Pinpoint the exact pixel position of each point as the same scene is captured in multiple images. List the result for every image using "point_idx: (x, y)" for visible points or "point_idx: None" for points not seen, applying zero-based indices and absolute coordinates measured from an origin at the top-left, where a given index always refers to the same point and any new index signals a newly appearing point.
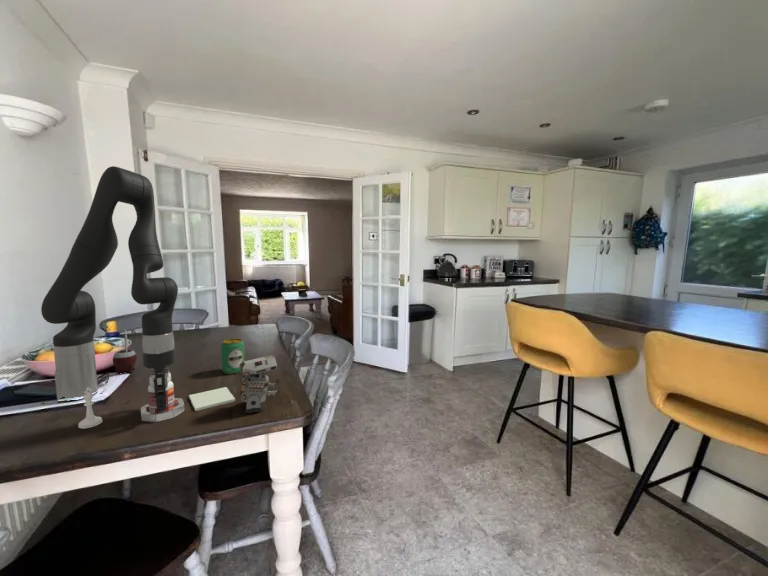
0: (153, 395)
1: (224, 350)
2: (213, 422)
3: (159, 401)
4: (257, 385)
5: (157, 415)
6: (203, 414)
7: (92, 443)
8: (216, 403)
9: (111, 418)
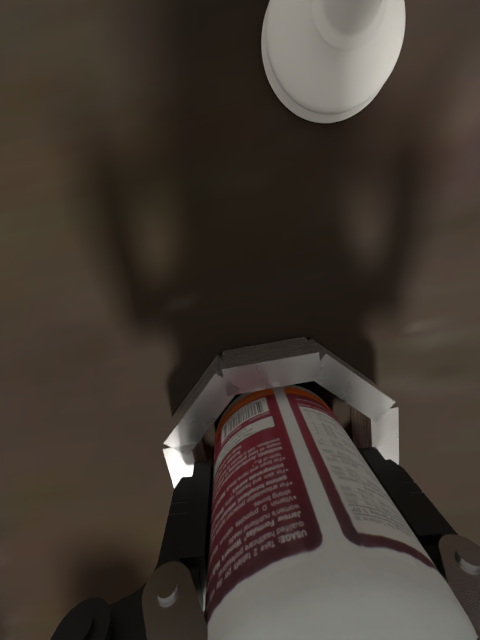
0: (218, 560)
1: None
2: None
3: (162, 551)
4: None
5: (164, 450)
6: None
7: (11, 131)
8: None
9: (343, 175)
